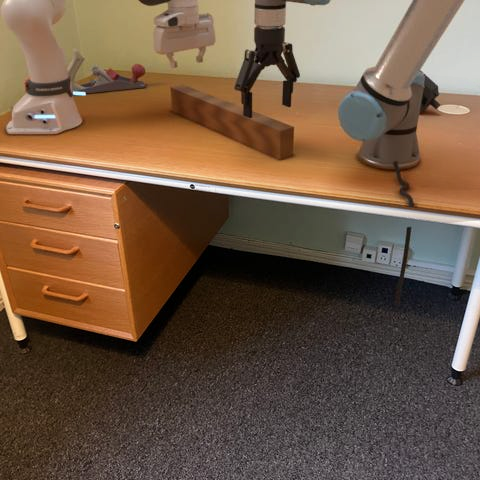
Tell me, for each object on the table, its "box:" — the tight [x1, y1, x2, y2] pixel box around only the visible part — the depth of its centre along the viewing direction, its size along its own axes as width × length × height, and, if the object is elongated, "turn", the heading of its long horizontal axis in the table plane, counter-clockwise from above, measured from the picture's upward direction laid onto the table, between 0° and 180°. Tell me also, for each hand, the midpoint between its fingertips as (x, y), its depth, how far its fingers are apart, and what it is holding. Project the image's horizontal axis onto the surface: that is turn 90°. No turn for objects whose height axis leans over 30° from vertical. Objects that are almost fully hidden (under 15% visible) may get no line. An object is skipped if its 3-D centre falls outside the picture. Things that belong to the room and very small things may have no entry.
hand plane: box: [67, 48, 146, 94], centre depth 194 cm, size 7×31×15 cm, turn 107°
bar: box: [169, 84, 295, 161], centre depth 157 cm, size 53×5×8 cm, turn 38°
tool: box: [419, 69, 442, 114], centre depth 170 cm, size 6×19×15 cm, turn 51°
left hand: (187, 64), depth 163 cm, fingers open, 8 cm apart
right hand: (267, 111), depth 141 cm, fingers open, 13 cm apart
